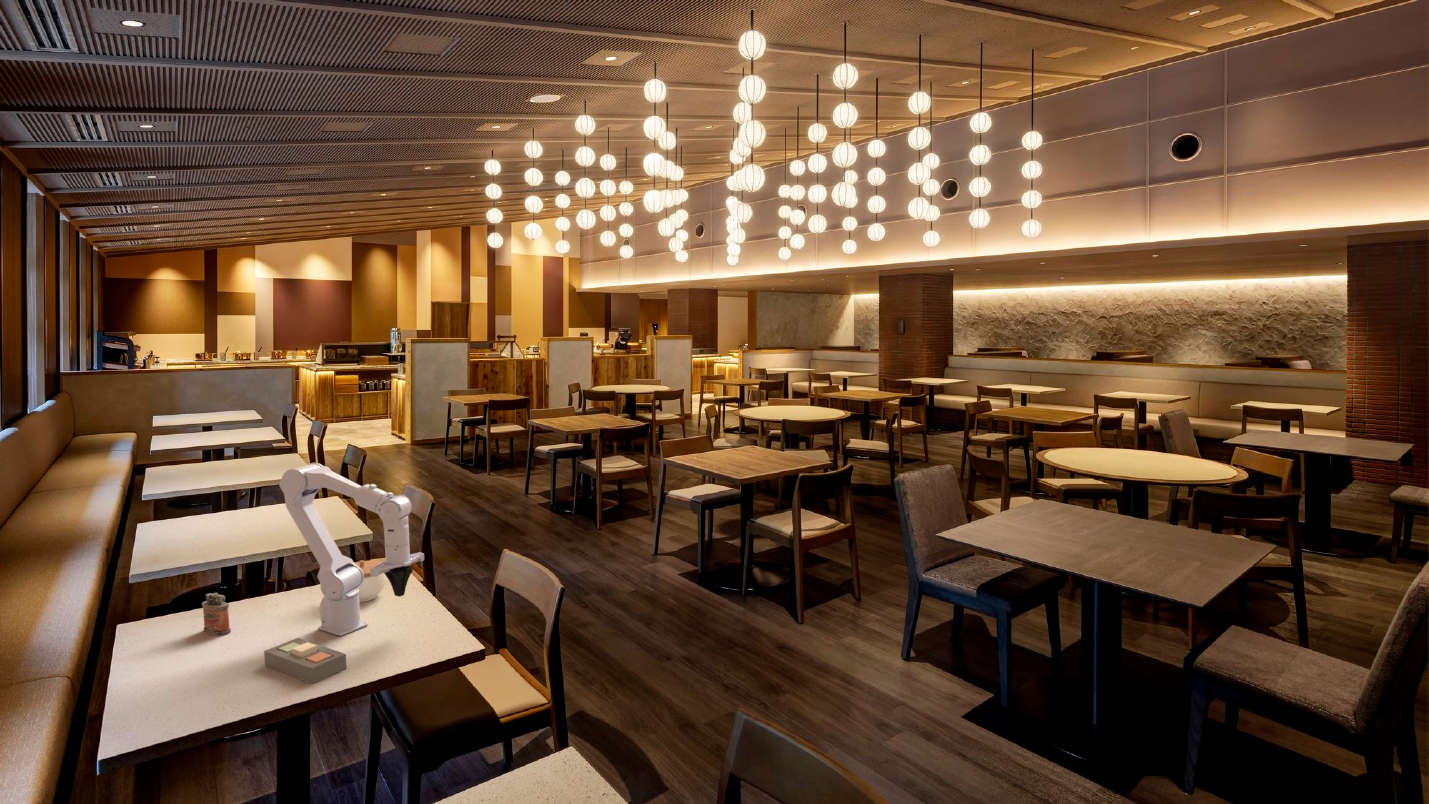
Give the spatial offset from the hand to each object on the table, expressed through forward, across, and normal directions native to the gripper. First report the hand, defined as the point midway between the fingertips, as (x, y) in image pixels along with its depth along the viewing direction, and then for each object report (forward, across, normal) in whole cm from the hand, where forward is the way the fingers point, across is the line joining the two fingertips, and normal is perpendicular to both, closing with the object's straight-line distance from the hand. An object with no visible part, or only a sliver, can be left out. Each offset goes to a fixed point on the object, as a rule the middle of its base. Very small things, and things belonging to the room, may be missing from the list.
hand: (399, 595), depth 183 cm
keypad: (+9, -24, +2) cm, 26 cm away
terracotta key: (+8, -24, -3) cm, 26 cm away
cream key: (+7, -24, +2) cm, 25 cm away
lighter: (+10, -23, +41) cm, 48 cm away
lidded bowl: (+10, +10, +29) cm, 32 cm away
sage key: (+8, -24, +7) cm, 26 cm away
